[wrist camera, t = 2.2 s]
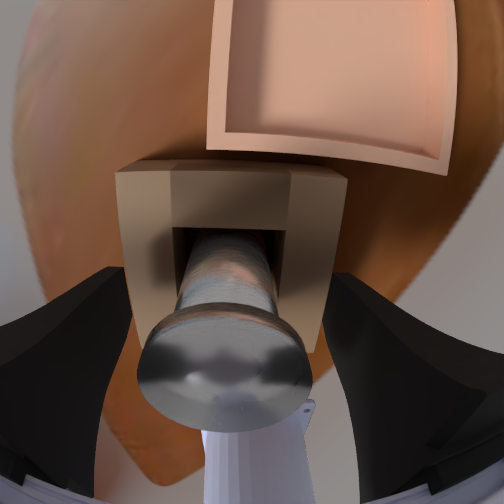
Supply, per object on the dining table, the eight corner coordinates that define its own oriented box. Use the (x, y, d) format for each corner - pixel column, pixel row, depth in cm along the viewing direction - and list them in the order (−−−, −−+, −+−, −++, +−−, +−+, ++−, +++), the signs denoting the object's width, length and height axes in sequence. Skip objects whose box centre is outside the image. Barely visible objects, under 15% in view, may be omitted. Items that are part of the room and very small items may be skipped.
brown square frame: (304, 319, 16) (313, 352, 13) (152, 315, 15) (141, 348, 13) (327, 166, 12) (347, 179, 10) (137, 160, 12) (115, 172, 9)
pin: (271, 289, 15) (297, 430, 8) (184, 287, 14) (154, 427, 7) (279, 206, 13) (330, 325, 6) (181, 203, 12) (119, 320, 5)
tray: (422, 166, 12) (446, 176, 10) (211, 144, 11) (206, 149, 10) (428, -11, 8) (450, -21, 6) (225, -56, 7) (224, -78, 5)
